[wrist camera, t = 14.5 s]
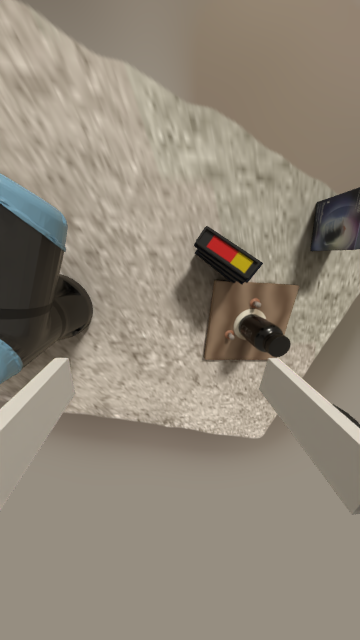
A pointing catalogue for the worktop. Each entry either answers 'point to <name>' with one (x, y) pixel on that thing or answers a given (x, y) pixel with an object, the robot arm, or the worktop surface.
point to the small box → (337, 223)
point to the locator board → (235, 305)
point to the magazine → (226, 256)
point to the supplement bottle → (264, 335)
